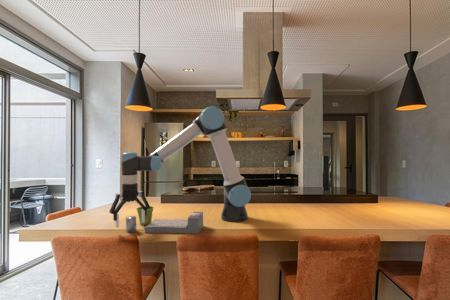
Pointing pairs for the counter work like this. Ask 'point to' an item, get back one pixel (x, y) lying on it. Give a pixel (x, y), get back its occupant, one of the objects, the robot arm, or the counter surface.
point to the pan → (169, 223)
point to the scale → (193, 227)
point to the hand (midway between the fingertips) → (130, 224)
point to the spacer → (131, 224)
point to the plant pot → (148, 217)
